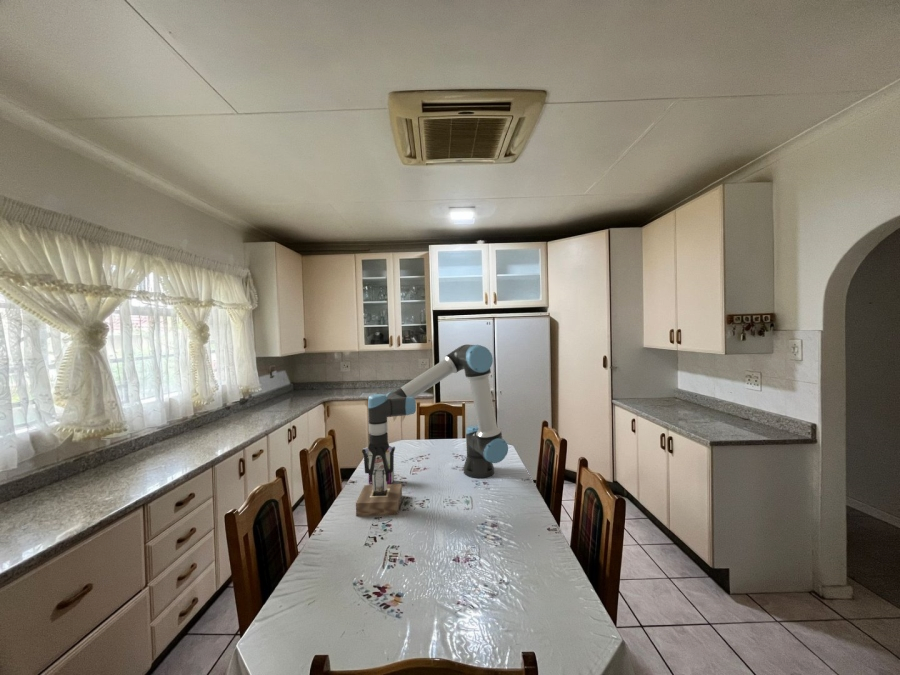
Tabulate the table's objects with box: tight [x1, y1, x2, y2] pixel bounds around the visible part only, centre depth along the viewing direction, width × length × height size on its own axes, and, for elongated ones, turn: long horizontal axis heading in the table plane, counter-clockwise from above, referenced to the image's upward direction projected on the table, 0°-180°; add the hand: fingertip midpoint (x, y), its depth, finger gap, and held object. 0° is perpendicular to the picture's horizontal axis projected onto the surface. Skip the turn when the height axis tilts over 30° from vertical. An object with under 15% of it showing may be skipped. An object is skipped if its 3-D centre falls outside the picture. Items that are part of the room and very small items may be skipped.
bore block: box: [355, 483, 403, 517], centre depth 145 cm, size 16×16×5 cm
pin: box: [374, 468, 385, 496], centre depth 145 cm, size 4×4×12 cm
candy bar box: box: [368, 449, 395, 485], centre depth 167 cm, size 11×5×16 cm, turn 84°
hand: (379, 489), depth 145 cm, fingers closed on pin, 4 cm apart
